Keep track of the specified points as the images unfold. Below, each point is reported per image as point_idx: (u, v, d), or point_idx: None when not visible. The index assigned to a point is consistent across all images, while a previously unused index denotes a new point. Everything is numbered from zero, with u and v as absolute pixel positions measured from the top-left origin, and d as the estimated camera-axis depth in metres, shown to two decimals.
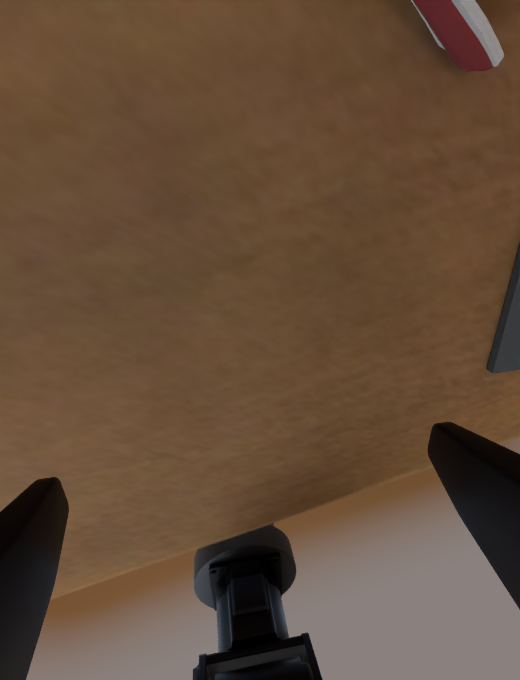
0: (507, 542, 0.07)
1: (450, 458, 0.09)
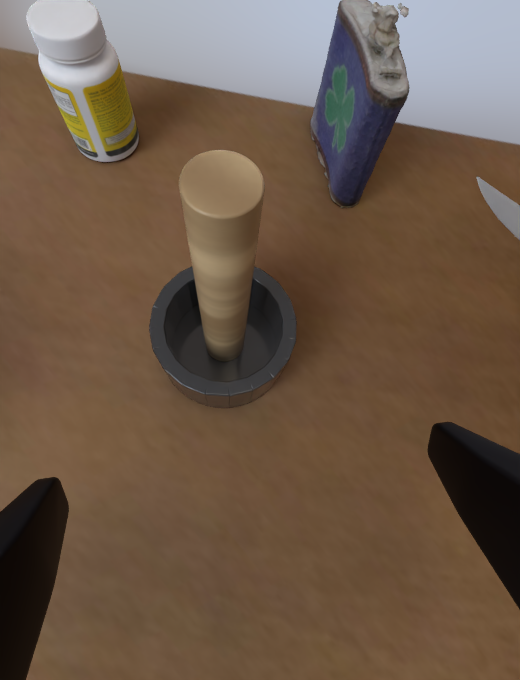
0: (507, 542, 0.07)
1: (450, 458, 0.09)
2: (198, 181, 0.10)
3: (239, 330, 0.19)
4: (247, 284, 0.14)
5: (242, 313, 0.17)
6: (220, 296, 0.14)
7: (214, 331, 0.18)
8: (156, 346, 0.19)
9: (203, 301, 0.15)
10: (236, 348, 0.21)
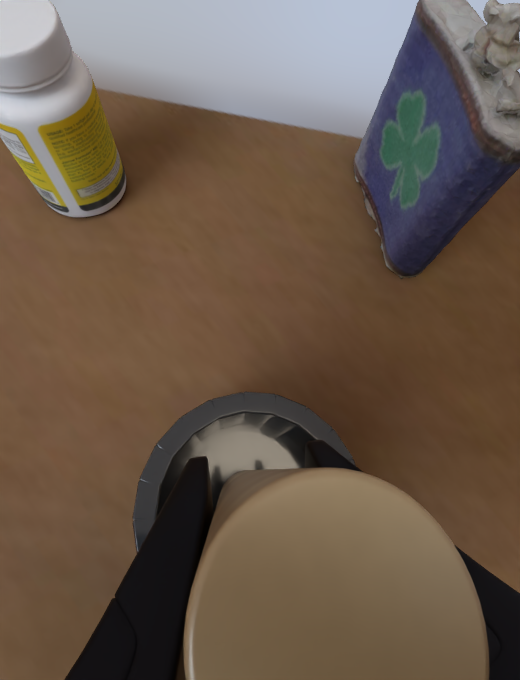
0: None
1: None
2: (257, 646, 0.03)
3: None
4: None
5: None
6: None
7: None
8: None
9: None
10: None
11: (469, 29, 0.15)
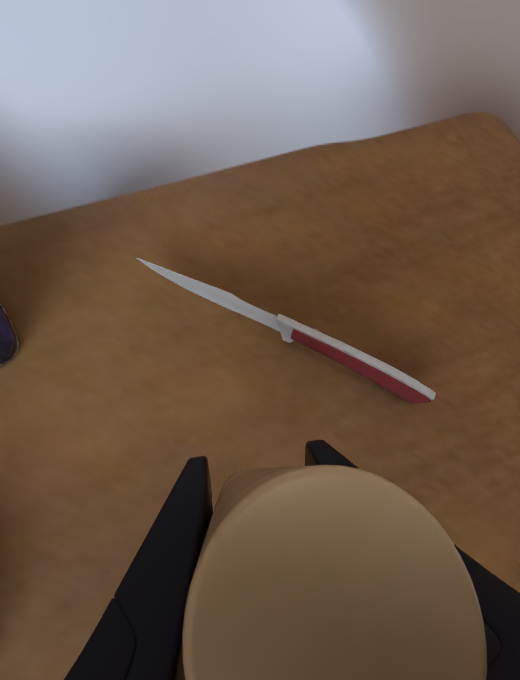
0: None
1: None
2: (256, 642, 0.03)
3: None
4: None
5: None
6: None
7: None
8: None
9: None
10: None
11: None
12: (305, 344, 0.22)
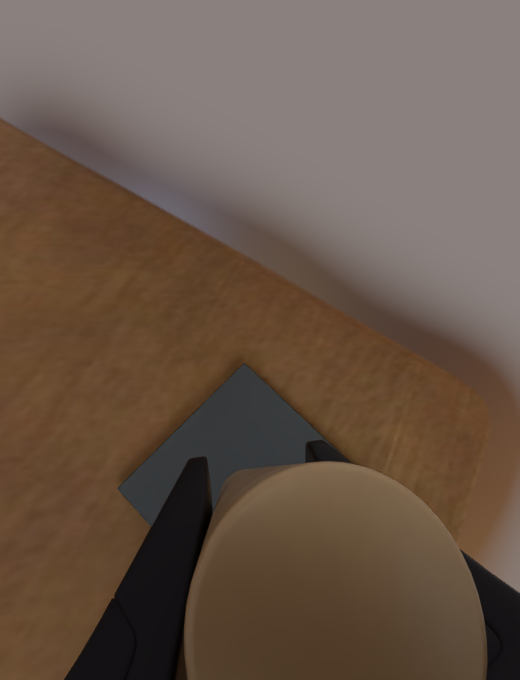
0: None
1: None
2: (257, 636, 0.03)
3: None
4: None
5: None
6: None
7: None
8: None
9: None
10: None
11: None
12: None
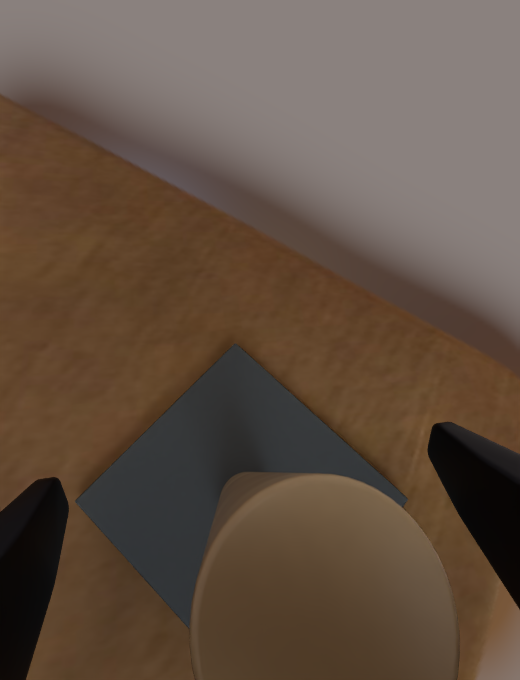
0: (507, 542, 0.07)
1: (450, 458, 0.09)
2: (254, 631, 0.03)
3: None
4: None
5: None
6: None
7: None
8: None
9: None
10: None
11: None
12: None
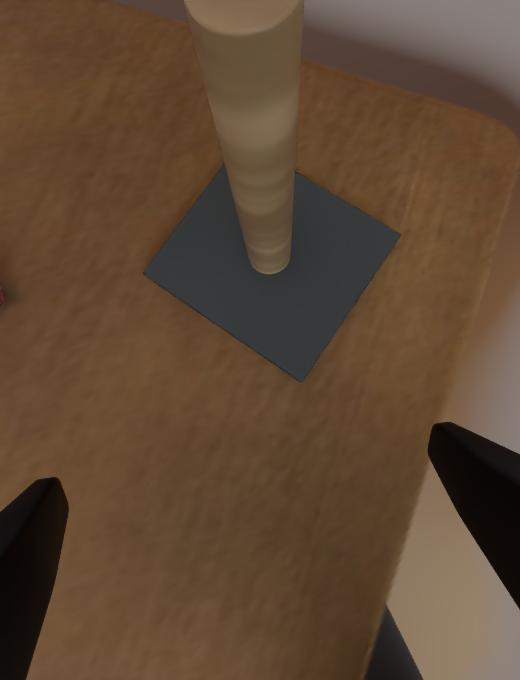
0: (507, 542, 0.07)
1: (450, 458, 0.09)
2: None
3: (286, 229, 0.16)
4: (291, 157, 0.11)
5: (288, 204, 0.14)
6: (261, 180, 0.12)
7: (257, 235, 0.16)
8: None
9: (240, 194, 0.13)
10: (284, 255, 0.19)
11: None
12: None
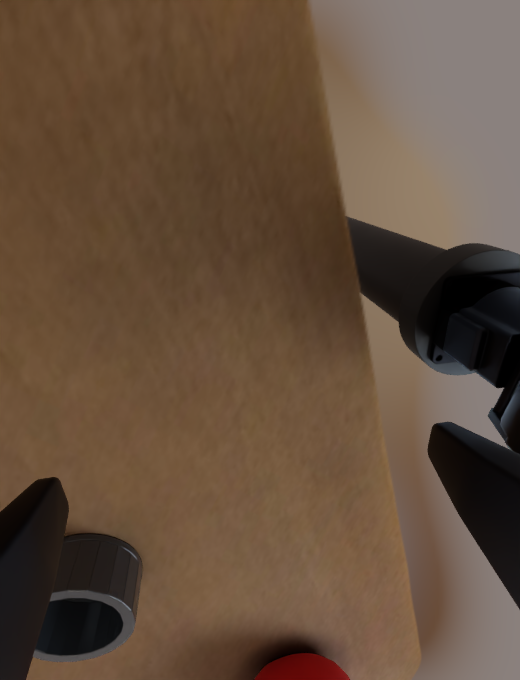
0: (507, 542, 0.07)
1: (450, 458, 0.09)
2: None
3: None
4: None
5: None
6: None
7: None
8: (120, 642, 0.26)
9: None
10: None
11: None
12: None
